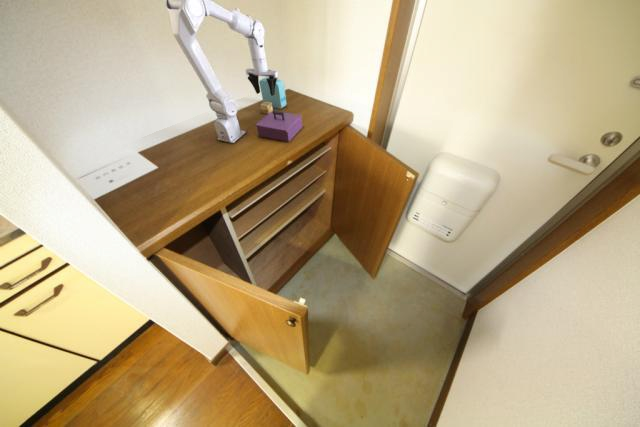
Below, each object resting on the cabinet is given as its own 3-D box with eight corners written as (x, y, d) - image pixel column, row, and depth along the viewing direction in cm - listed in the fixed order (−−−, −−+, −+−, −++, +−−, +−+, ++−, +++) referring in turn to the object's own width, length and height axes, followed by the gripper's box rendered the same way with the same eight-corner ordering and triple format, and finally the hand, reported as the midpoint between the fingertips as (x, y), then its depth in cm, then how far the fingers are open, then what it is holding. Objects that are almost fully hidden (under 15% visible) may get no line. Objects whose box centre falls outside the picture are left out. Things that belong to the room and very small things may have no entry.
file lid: (286, 132, 87) (285, 122, 84) (255, 126, 90) (253, 116, 87) (301, 116, 95) (300, 107, 92) (272, 111, 99) (270, 102, 96)
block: (268, 114, 108) (267, 105, 105) (261, 113, 109) (260, 104, 106) (273, 110, 111) (271, 102, 108) (266, 109, 112) (264, 101, 109)
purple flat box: (288, 142, 91) (287, 131, 87) (258, 136, 94) (256, 125, 91) (302, 127, 99) (301, 116, 95) (274, 122, 103) (272, 112, 99)
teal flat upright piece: (287, 106, 114) (283, 80, 105) (281, 109, 111) (277, 83, 102) (269, 101, 118) (264, 76, 109) (263, 105, 116) (258, 79, 107)
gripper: (279, 57, 90) (283, 92, 100) (249, 54, 94) (256, 89, 104) (270, 61, 86) (276, 98, 96) (239, 58, 90) (248, 94, 100)
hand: (265, 94), depth 100 cm, fingers open, 7 cm apart
